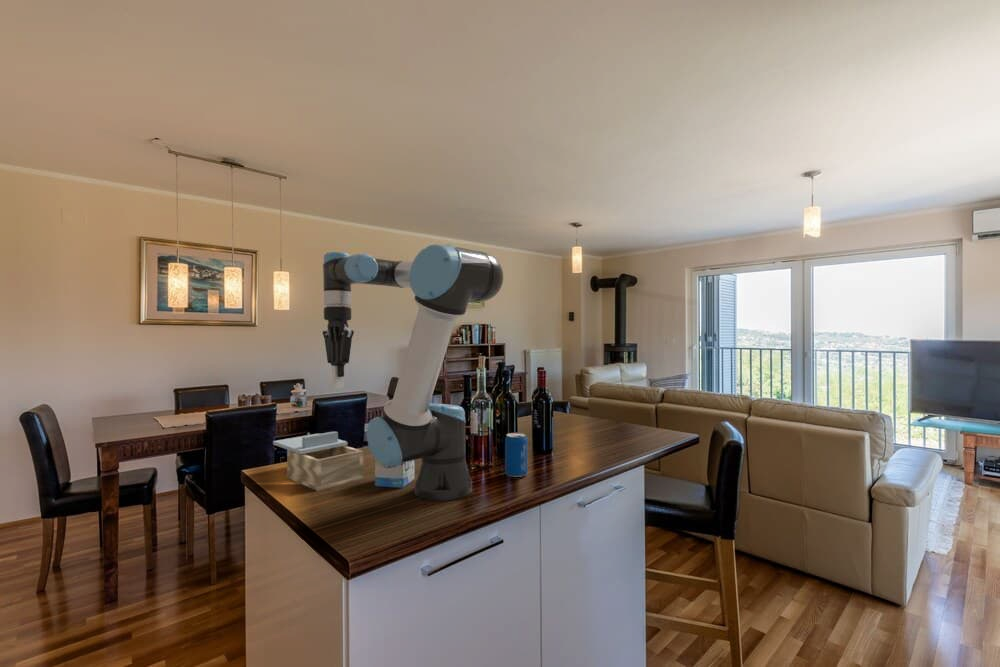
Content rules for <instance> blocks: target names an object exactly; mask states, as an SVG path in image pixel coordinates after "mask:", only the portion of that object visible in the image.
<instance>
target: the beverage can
mask: <svg viewBox="0 0 1000 667" xmlns="http://www.w3.org/2000/svg"><path fill="white" fill-rule="evenodd" d="M504 456H505V457H504V473H505V475H506V476H507V477H509V476H513V477H520V476H524V475H525V476H526V475H527V474H528V438H527V436H526V434H525V433H524V432H523V433H522V432H510V433H507V434H506V437H505V438H504ZM525 476H524V477H525Z"/></svg>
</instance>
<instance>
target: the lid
mask: <svg viewBox="0 0 1000 667" xmlns="http://www.w3.org/2000/svg"><path fill="white" fill-rule="evenodd" d="M272 445H274V446H277V447H279V448H282V449H285V450H290V451H293V452H295V453H298V454H305V453H310V452H315V451H320V450H325V449H330V448H335V447H340V446H348V441H346V440H342V439H339V432H338V431H328V432H324V433H323V432H322V433H313V434H307V435H302V436H300V435H299V436H296V437H295V436H294V437H290V438H289V437H288V438H284V439H278V440H273V441H272Z"/></svg>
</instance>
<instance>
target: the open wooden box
mask: <svg viewBox="0 0 1000 667" xmlns="http://www.w3.org/2000/svg"><path fill="white" fill-rule="evenodd" d="M286 450H287V449H286ZM286 452H287V454H286V458H287V459H286V460H287V461H286V463H287V466H286V467H287V468H286V469H287V471H286V472H287V474H286V475H287V476H286V477H287V478H288V479H290V480H293V481H294V482H296V483H299V484H301V485H303V486H306V487H308V488H309V489H311V490H314V491H316V492H318V491H322V490H325V489H329V488H333V487H337V486H341V485H344V484H348V483H352V482H356V481H359V480H363V479H364V451H363V450H361V449H357V448H354V447H351V446H348V445H345V446H340V447H335V448H330V449H325V450H320V451H315V452H310V453H305V454H298V453H295V452H293V451H290V450H287V451H286Z"/></svg>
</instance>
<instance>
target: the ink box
mask: <svg viewBox="0 0 1000 667" xmlns="http://www.w3.org/2000/svg"><path fill="white" fill-rule="evenodd" d="M374 460H375V461H374V462H375V463H374V465H375V466H374V467H375V468H374V470H375V471H374V478H375V479H374V486H375V487H383V488H384V487H386V488H401V489H403V488H404V487H406V486H407V485H408V484H410V483H411V482H412V481H414V480H415V460H412V461H408V462H405V463H401V464H399V465H391V466H384V465H381V464H380V463H378V462H377V461H376V459H375V458H374Z"/></svg>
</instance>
